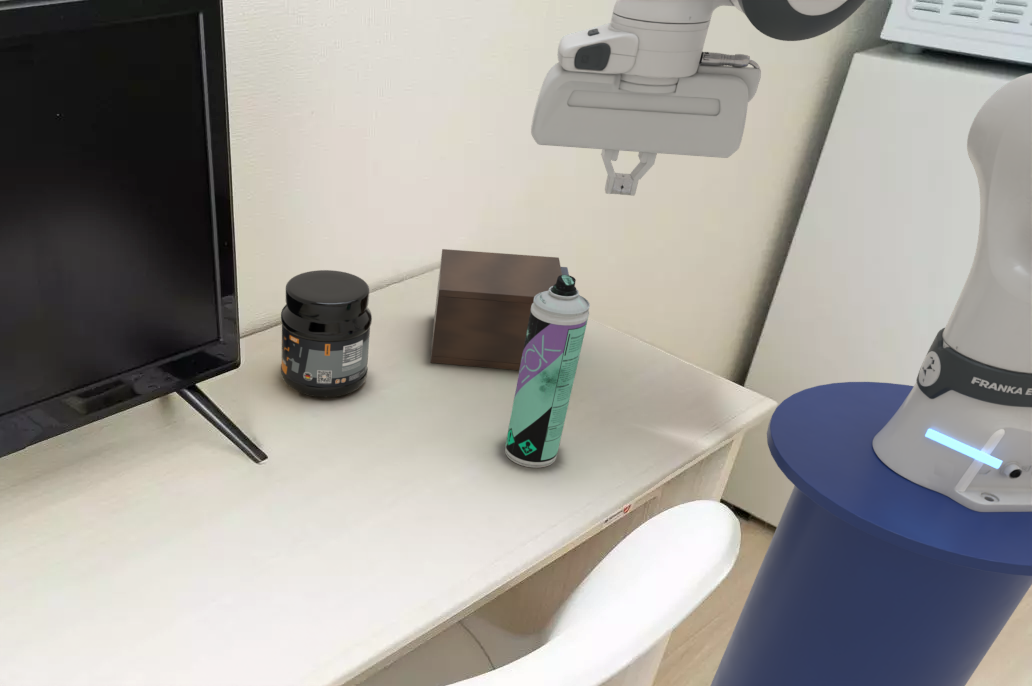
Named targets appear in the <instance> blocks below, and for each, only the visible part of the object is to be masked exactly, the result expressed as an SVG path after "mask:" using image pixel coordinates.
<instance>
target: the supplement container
mask: <svg viewBox="0 0 1032 686" xmlns="http://www.w3.org/2000/svg"><path fill="white" fill-rule="evenodd" d="M284 297H285V304H284V306H283V307H282V309H281V311H280V322H281V361H280V362H281V363H280V375H281V377H282V379H283V382H285V384H286V385H287V386H288V387H290V388H291V389H293V390H294V391H296V392H298V393H300V394H303V395H306V396H310V397H315V398H335V397H340V396H345V395H348V394H350V393H353V392H355V391H356V390H358V389H359V388H361V387H362V386H363V384H365V381H366V380H367V377H368V372H369V370H368V369H369V366H368V362H369V348H370V336H371V335H370V333H371V325H372V322H373V314H372V311H371V309H370V308H369V307H368V306H369V303H370V287H369V284H368V283H367V282H366V281H365V280H364V279H363V278H361V277H360V276H357V275H355V274H352V273H349V272H346V271H340V270H332V269H323V270H322V269H320V270H319V269H318V270H311V271H305V272H301V273H299V274H297V275H295V276H293V277H291V278H290V279H289V280H288V281H287V282H286V285H285V296H284Z"/></svg>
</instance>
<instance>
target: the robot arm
mask: <svg viewBox="0 0 1032 686" xmlns="http://www.w3.org/2000/svg"><path fill="white" fill-rule="evenodd" d="M865 2H866V0H616V2H615V4H614V5H613V10H612V14H611V19H610V22H608V23H604V24H601V25H598V26H593V27H590V28H586V29H583V30H578V31H574V32H570V33H567V34H565V35H563V36H562V37H561V38H560V40H559V43H558V46H557V61H558V62H556V63H555V64H554V65H552V66H551V67H550V68H549V70H548V71H547V72H546V74H545V77H544V79H543V80H542V84H541V87H540V90H539V93H538V96H537V100H536V103H535V107H534V110H533V115H532V119H531V125H530V135H531V137H532V139H533V140H534V142H535V143H536V144H537V145H539V146H551V147H563V148H578V149H591V150H592V149H593V150H601V153H600V156H601V158H602V163H603V165H604V167H605V170H606V174H607V175H606V181H605V185H604V193H605V194H608V195H620V196H621V195H622V196H633V197H634V196H635V195H636V192H637V190H638V189H637V188H638V184H639V181H640V180H641V179H642V178H643V177H644V176H645V175H646V174H647V173H648V172H649V170H651V169H652V167H653V166H654V165H655V162H656V159H657V155H658V154H660V155H661V154H663V155H675V156H690V157H691V156H693V157H705V158H717V159H718V158H719V159H720V158H721V159H728V158H730V157H731V156H732V155H734V154H735V153H736V152H737V151H738V150H739V149H740V147H741V143H742V140H743V135H744V132H745V126H746V121H747V114H748V108H749V103H750V102H751V101H752V100H753V98H754V97H755V95H756V93H757V91H758V87H759V85H760V81H761V77H762V71H761V70H762V69H761V67H760V65H759V63H758V62H756V61H755V60H753V59H751V57H750V55H748V54H743V53H735V54H727V53H722V52H713V51H712V52H710V51H703V50H704V46H705V43H706V40H707V39H706V38H707V35H708V30H709V27H710V24H711V19H712V16H713V13H714V11H715V10H716V9H717V8H720V7H722V6H723V7H735V8H736V9H737V10H738V11H740V12H741V13H743V14H744V15H745V16H746V18H747V19H748V21H749V22H750V24H751V25H752V26H753V27H754V28H755V29H756V30H757V31H759V33H761V34H763V35H765V36H766V37H769V38H772V39H774V40H778V41H783V42H799V41H805V40H809V39H813V38H816V37H819V36H821V35H824V34H826V33H828V32H830V31H832V30H833V29H835V28H836V27H838V26H839V25H841V24H842V23H844V22H845V21H846V20H848V19H849V18H850V17H851V16H852V15H853V14H854V13H855V12H857V10H858V9H859V8H861V6H862V5H863V4H864V3H865ZM966 142H967V143H966V150H967V155H968V158H969V160H970V162H971V165H972V166H973V169H974V171H975V174H976V178H977V184H978V189H979V203H980V204H979V225H978V235H977V242H976V248H975V253H974V257H973V261H972V264H971V268H970V270H969V273H968V275H967V277H966V280H965V283H964V285H963V287H962V290H961V292H960V294H959V297H958V299H957V301H956V303H955V305H954V307H953V310H952V312H951V315H950V317H949V318H948V320H947V323H946V325H945V326H944V327H943V328H941V329H940V330H939V331H938V332H937V334H936V335H935V337H934V339H933V341H932V343H931V344H930V347H929V349H928V351H927V353H926V355H925V357H924V359H923V362H922V363H921V366H920V368H919V370H918V373H917V377H916V381H915V383H914V385H913V386H914V387H913V389H912V390H911V392H910V393H909V395H908V396H907V398H906V399H905V401H904V402H903V404H902V405H901V406H900V408H899V409H898V411H897V412H896V413H895V415H894V416H893V417H892V418H891V419H890V421H889V422H888V423H887V424H886V425H885V426H884V427H883V429H882V430H881V431H880V432H879V433H878V434H876V436H875V437H874V439H873V449H874V451H875V453H876V455H877V456H878V457H879V459H880V460H881V461H882V462H883V463H884V464H885V465H887V466H888V467H889V468H890V469H892V470H893V471H894V472H896V473H898V474H899V475H901V476H902V477H904V478H906V479H908V480H910V481H912V482H914V483H916V484H918V485H921V486H923V487H925V488H928V489H931V490H933V491H936V492H939V493H941V494H943V495H946V496H948V497H949V498H951V499H953V500H954V501H956V502H958V503H959V504H961V505H963V506H965V507H967V508H969V509H971V510H974V511H978V512H1032V72H1030V73H1026V74H1023V75H1020V76H1018V77H1015V78H1013V79H1012V80H1010V81H1008V82H1007V83H1005V84H1004V85H1003V86H1001V87H1000V88H998V89H997V90H996V91H995V92H994V93H993V94H992V95H991V96H989V98H988V99H987V100H986V101H985V102H984V103H983V105H982V106H981V107H980V109H979V110H978V111H977V113H976V114H975V117H974V119H973V121H972V123H971V125H970V128H969V131H968V134H967V139H966ZM620 152H634V153H638V154H637V157H638V159H639V162H638V163H637V165H635V167H634V168H633V169H632V171H630V173H623V172H622V173H621V172H615V168H614V166H613V162H617V161H618V158H619V154H620Z"/></svg>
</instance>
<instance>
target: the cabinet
mask: <svg viewBox="0 0 1032 686" xmlns="http://www.w3.org/2000/svg"><path fill="white" fill-rule="evenodd" d="M440 256H441V257H440V264H439V272H438V273H439V274H438V280H437V281H438V282H437V291H436V299H435V305H434V306H435V308H434V315H433V325H432V326H433V327H432V338H431V350H430V363H432V364H441V365H454V366H467V367H477V368H487V369H488V368H489V369H500V370H511V371H519V369H520V364H521V359H522V353H523V348H524V343H525V337H526V332H527V326H528V321H529V316H530V310H531V306H532V304H533V300H534V297H535V296H536V295H537V294H539V293H541V292H545V291H548V290H549V288H550V287H552V286H554V285H555V284H556V282H557V278H558V276H560V275H562V272H561V267H562V266H561V262H560V258H559V256H558V257H557V256H543V255H541V256H540V255H528V254H514V253H499V252H489V251H488V252H487V251H473V250H461V249H449V248H448V249H446V248H442V249H441V255H440Z"/></svg>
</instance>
